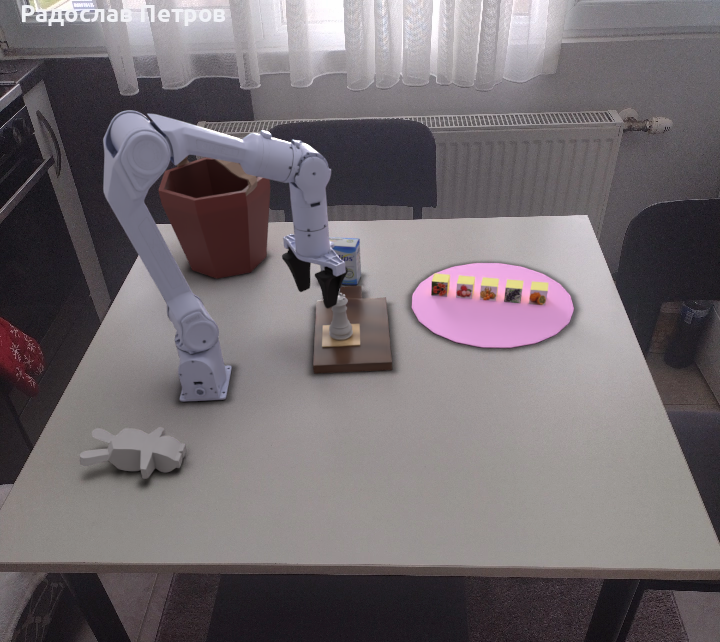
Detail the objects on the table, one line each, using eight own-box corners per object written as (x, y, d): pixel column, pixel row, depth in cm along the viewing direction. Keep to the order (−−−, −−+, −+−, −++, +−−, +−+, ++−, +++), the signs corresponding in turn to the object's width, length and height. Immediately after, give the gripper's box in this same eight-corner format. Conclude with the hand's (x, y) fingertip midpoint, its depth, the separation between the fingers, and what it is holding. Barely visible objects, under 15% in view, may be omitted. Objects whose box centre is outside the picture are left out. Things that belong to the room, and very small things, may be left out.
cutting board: (392, 370, 122) (391, 360, 121) (313, 373, 122) (312, 364, 121) (385, 292, 142) (384, 283, 140) (317, 295, 142) (316, 286, 140)
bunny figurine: (172, 466, 101) (71, 454, 101) (176, 490, 104) (78, 478, 105) (189, 424, 108) (94, 413, 108) (192, 447, 111) (101, 437, 111)
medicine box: (321, 284, 145) (317, 245, 139) (325, 273, 148) (322, 235, 142) (357, 285, 144) (355, 247, 138) (361, 275, 147) (359, 237, 141)
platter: (425, 258, 151) (426, 243, 149) (575, 269, 145) (578, 255, 142) (396, 338, 129) (396, 323, 127) (571, 356, 123) (575, 341, 120)
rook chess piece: (357, 331, 128) (355, 293, 122) (344, 343, 125) (342, 305, 120) (337, 325, 130) (334, 287, 124) (324, 337, 127) (321, 299, 121)
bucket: (294, 269, 150) (279, 151, 133) (198, 298, 143) (170, 178, 125) (250, 227, 166) (232, 117, 148) (162, 252, 158) (132, 139, 141)
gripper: (358, 230, 110) (361, 304, 119) (303, 203, 118) (310, 275, 127) (323, 244, 106) (329, 320, 116) (269, 216, 115) (279, 288, 124)
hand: (317, 297), depth 121 cm, fingers open, 7 cm apart
